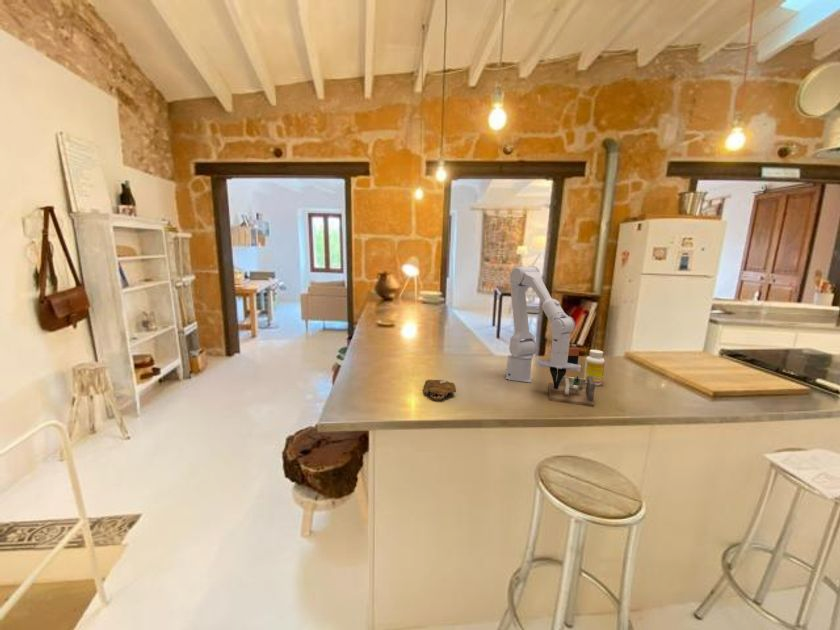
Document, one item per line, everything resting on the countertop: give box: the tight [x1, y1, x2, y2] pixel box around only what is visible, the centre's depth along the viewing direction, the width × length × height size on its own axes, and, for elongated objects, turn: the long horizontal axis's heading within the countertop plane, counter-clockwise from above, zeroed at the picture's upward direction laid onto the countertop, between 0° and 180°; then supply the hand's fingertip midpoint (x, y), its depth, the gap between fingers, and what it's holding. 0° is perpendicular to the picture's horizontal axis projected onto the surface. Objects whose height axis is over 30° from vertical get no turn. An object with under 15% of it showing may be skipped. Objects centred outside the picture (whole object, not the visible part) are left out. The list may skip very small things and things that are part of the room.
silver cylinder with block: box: [564, 376, 582, 395], centre depth 134 cm, size 6×10×4 cm, turn 162°
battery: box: [567, 343, 580, 365], centre depth 166 cm, size 4×7×10 cm, turn 93°
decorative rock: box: [423, 379, 457, 401], centre depth 132 cm, size 11×4×15 cm
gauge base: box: [548, 375, 596, 407], centre depth 134 cm, size 14×15×7 cm
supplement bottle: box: [583, 349, 606, 386], centre depth 146 cm, size 7×7×13 cm
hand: (555, 387), depth 135 cm, fingers closed
